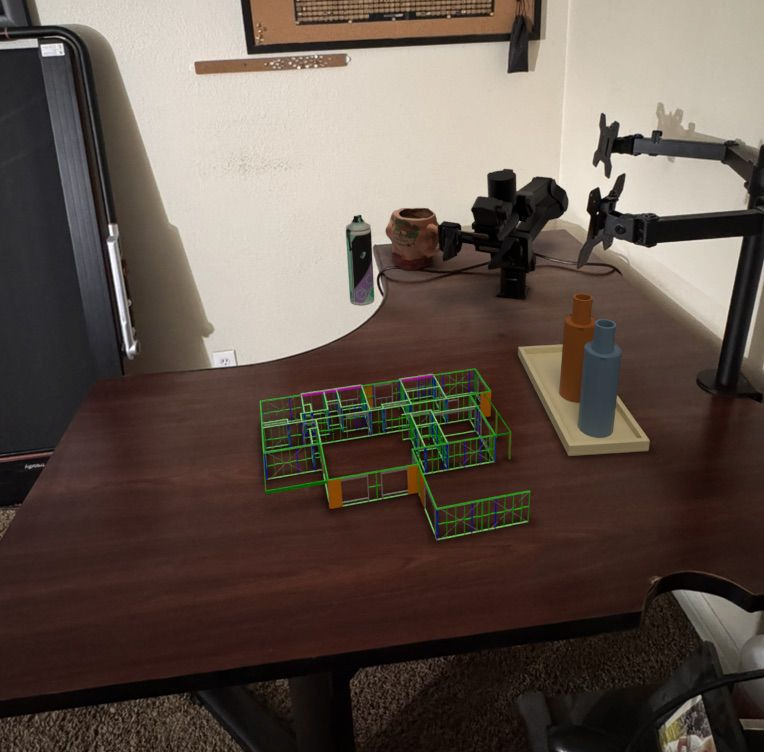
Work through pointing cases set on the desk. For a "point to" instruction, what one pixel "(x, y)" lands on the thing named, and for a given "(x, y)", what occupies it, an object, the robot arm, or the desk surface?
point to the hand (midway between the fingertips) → (465, 263)
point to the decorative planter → (413, 237)
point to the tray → (576, 408)
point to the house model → (413, 471)
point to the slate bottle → (600, 381)
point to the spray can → (360, 262)
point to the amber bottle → (575, 346)
